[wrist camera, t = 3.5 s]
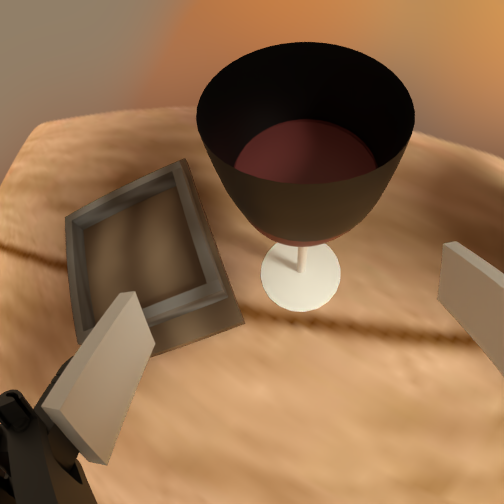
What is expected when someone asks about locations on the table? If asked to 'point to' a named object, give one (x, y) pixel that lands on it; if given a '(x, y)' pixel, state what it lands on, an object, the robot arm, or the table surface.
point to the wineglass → (304, 153)
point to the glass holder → (150, 260)
